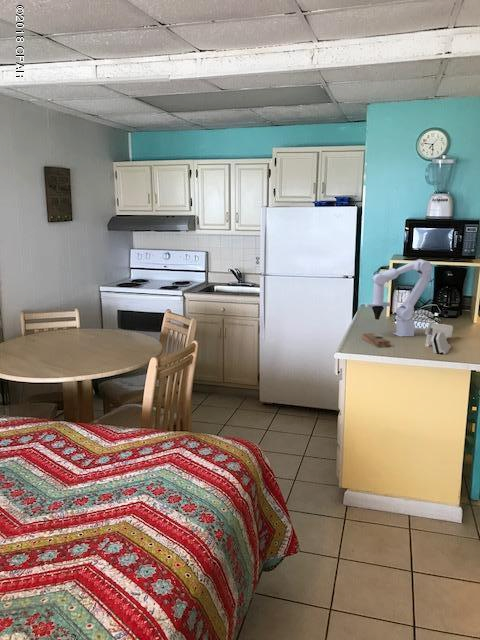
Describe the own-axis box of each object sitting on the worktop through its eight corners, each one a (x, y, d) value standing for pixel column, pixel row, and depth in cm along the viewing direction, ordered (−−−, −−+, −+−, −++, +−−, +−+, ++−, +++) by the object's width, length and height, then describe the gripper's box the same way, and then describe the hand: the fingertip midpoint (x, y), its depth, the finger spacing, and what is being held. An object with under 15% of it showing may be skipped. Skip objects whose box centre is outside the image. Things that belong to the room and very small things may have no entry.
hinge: (444, 355, 262) (439, 335, 262) (435, 356, 264) (429, 337, 264) (451, 347, 276) (446, 329, 276) (442, 349, 278) (436, 331, 278)
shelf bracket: (421, 345, 280) (425, 322, 279) (441, 346, 298) (445, 324, 297) (431, 347, 276) (435, 323, 275) (451, 348, 294) (455, 326, 293)
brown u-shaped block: (373, 338, 295) (373, 333, 294) (390, 346, 278) (390, 340, 277) (361, 339, 293) (362, 333, 292) (377, 347, 276) (378, 341, 275)
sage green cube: (379, 341, 289) (379, 334, 288) (382, 343, 285) (382, 336, 284) (372, 341, 288) (372, 334, 287) (375, 343, 284) (375, 336, 283)
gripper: (386, 293, 302) (385, 317, 305) (363, 294, 299) (362, 318, 302) (392, 295, 296) (391, 319, 299) (369, 296, 292) (368, 320, 295)
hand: (377, 319), depth 300 cm, fingers closed
